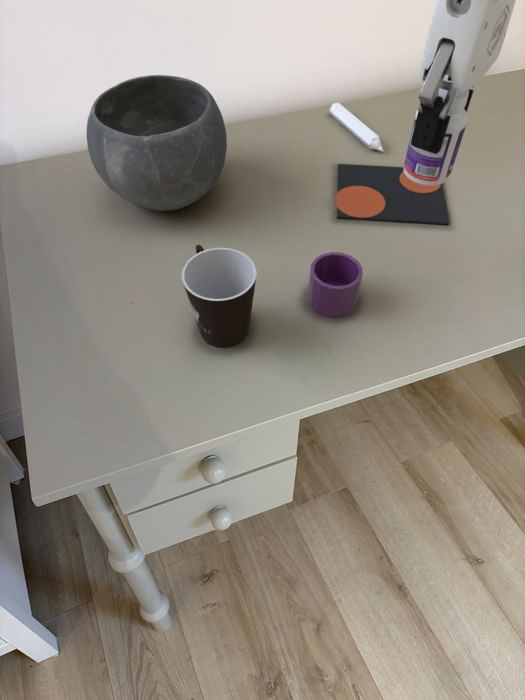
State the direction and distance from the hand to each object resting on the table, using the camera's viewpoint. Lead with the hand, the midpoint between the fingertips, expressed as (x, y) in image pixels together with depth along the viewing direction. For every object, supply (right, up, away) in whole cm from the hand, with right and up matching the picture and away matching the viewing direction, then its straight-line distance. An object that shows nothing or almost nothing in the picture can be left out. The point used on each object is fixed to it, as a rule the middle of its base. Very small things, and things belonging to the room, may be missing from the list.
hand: (437, 133), depth 57 cm
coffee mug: (-24, -20, +12) cm, 33 cm away
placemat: (+2, +2, +28) cm, 28 cm away
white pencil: (-2, +16, +39) cm, 42 cm away
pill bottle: (0, -3, +4) cm, 5 cm away
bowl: (-34, +2, +29) cm, 45 cm away
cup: (-10, -17, +14) cm, 24 cm away
